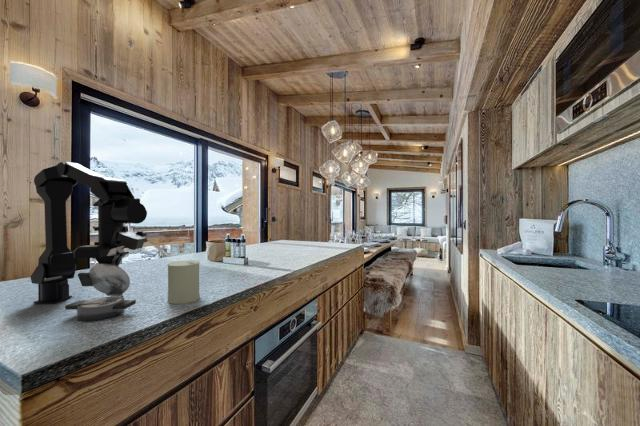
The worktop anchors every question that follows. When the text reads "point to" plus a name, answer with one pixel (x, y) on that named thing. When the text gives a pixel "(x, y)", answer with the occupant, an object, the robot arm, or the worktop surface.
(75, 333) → the worktop surface
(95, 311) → the pot
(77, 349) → the worktop surface
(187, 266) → the can
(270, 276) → the worktop surface
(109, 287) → the lid
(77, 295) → the worktop surface
